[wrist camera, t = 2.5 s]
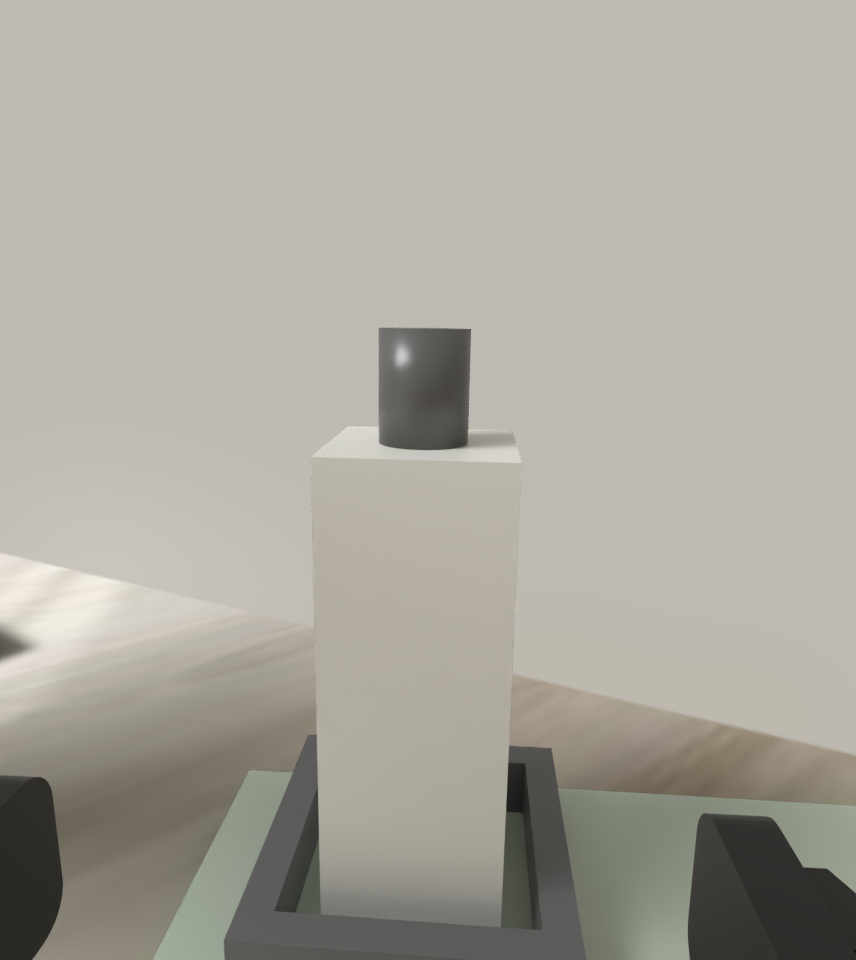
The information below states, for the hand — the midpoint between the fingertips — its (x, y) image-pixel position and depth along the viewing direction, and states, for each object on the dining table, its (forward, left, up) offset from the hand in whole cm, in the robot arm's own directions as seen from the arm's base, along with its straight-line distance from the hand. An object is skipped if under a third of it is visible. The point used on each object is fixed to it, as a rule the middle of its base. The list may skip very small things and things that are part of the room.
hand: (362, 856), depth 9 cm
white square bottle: (0, +11, -11) cm, 16 cm away
